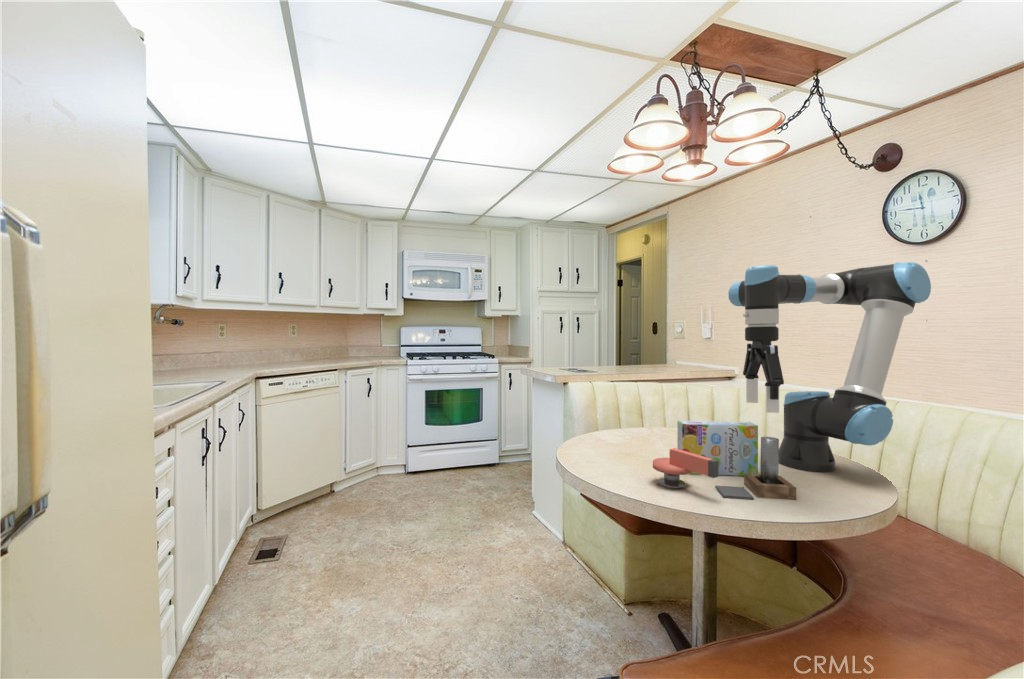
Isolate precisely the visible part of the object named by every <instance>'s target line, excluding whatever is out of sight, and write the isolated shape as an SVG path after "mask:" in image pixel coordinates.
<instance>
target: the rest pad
mask: <svg viewBox="0 0 1024 679" xmlns="http://www.w3.org/2000/svg"><path fill="white" fill-rule="evenodd" d="M714 488H715V489H716V490H717V493H719V494H720V495H721V497H722V498H724V499H734V500H735V499H739V500H752V501H755V498H754V496H753V495H752V493H750V492H749V491H748V490H747V489H746V488H745V487H744V486H729V485H728V486H727V485H714Z"/></svg>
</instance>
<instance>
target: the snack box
mask: <svg viewBox="0 0 1024 679" xmlns="http://www.w3.org/2000/svg"><path fill="white" fill-rule="evenodd" d="M676 428H677V430H676V431H677V432H676V434H677V438H676V440H677V443H676V444H677V447H676V449H679V450H683V451H686V452H690V453H693V454H697V455H700V456H704V457H707V458H711V459H714V460H718V461H719V476H740V477H744V474H759V425H758V424H755V423H753V422H751V421H725V420H724V421H723V420H722V421H720V420H718V421H717V420H716V421H715V420H677V427H676ZM688 475H700V474H699V473H696V472H693V471H692V472H691V473H689V474H688Z"/></svg>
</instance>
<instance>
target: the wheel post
mask: <svg viewBox="0 0 1024 679" xmlns="http://www.w3.org/2000/svg"><path fill="white" fill-rule="evenodd" d="M680 476H681V475H673V474H666V473H663V477H660V478H659V479H658V480H657V481H658V482H657V483H658V485H659V486H661V487H664V488H666V489H670V490H671V489H672V490H680V489H684V488H686V482H685V481H683V480H682V479H681V477H680Z"/></svg>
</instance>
